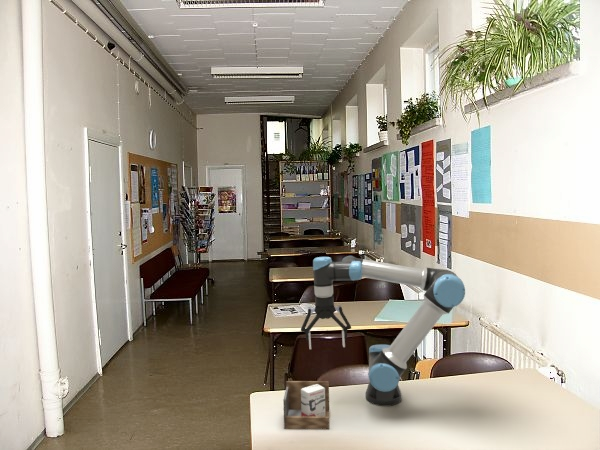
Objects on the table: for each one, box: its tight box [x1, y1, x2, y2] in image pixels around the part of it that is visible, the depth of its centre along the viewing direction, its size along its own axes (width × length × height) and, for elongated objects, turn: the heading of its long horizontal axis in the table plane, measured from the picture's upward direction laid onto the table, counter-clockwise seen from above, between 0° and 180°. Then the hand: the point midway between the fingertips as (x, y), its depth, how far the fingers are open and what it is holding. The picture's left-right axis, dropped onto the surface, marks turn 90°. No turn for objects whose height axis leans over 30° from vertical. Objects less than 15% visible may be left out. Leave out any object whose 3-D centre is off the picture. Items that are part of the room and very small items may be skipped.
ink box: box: [301, 384, 325, 417], centre depth 198 cm, size 8×5×12 cm, turn 125°
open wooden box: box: [283, 380, 330, 430], centre depth 198 cm, size 17×13×14 cm
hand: (327, 347), depth 205 cm, fingers open, 13 cm apart
